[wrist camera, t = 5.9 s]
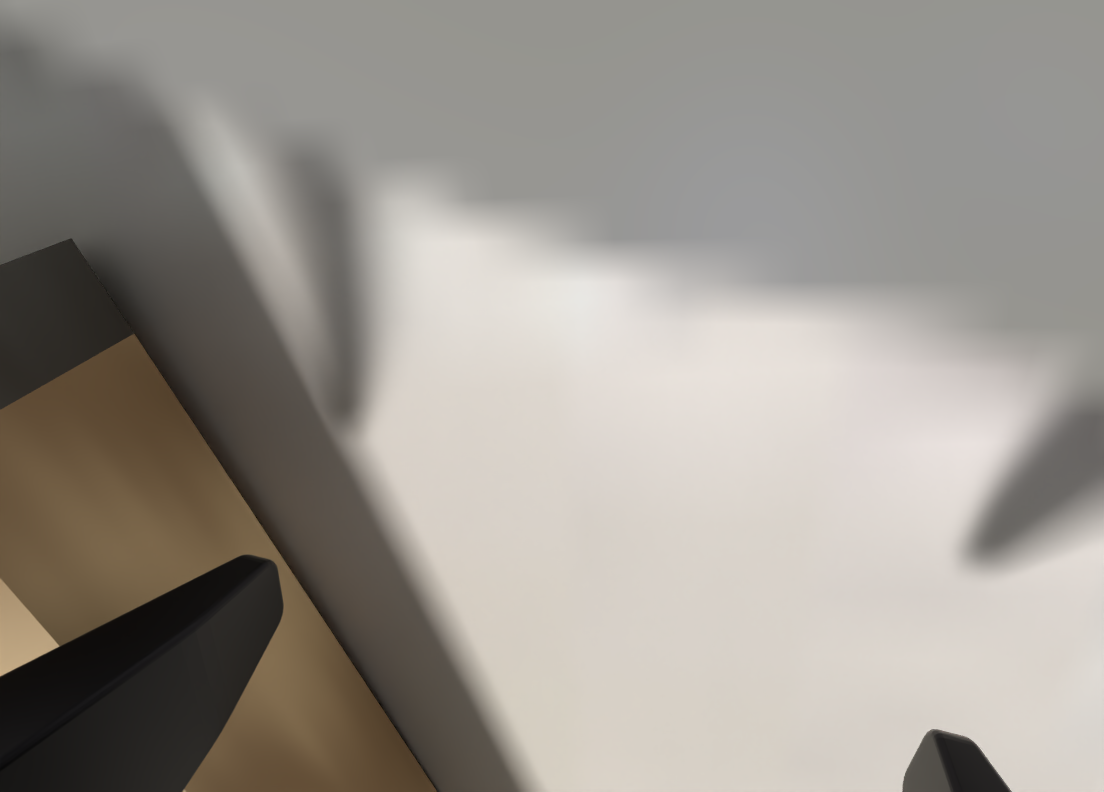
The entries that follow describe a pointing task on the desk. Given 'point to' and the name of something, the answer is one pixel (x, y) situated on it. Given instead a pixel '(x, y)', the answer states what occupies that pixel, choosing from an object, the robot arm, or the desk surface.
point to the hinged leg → (154, 536)
